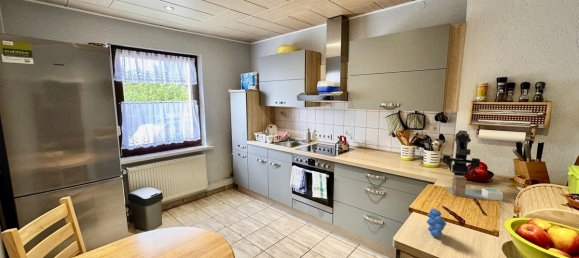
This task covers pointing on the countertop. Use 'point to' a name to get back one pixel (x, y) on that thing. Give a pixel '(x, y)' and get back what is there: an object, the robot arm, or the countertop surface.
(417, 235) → the countertop surface
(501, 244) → the countertop surface
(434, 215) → the grapes
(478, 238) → the countertop surface
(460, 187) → the walnut pillar
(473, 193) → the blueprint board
